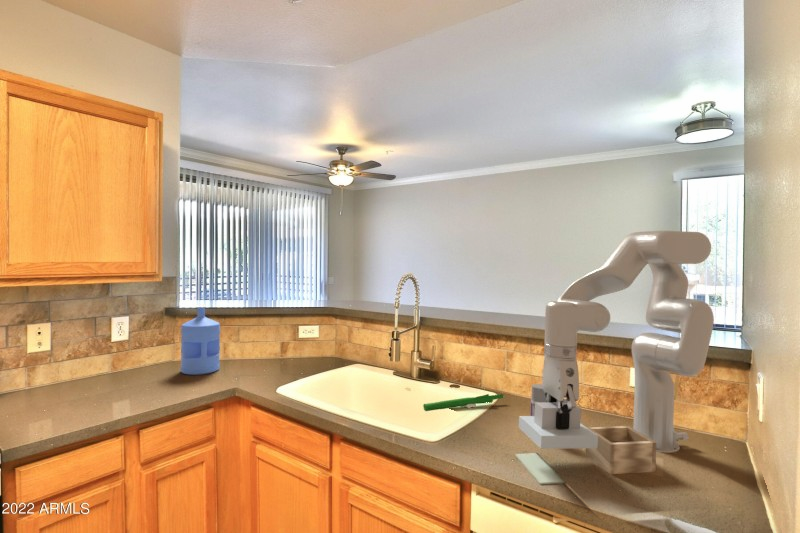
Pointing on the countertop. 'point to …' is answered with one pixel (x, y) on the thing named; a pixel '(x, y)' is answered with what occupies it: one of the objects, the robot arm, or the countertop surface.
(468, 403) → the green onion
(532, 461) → the mat
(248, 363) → the countertop surface
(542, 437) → the lid
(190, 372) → the water jug
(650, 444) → the box
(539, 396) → the container
